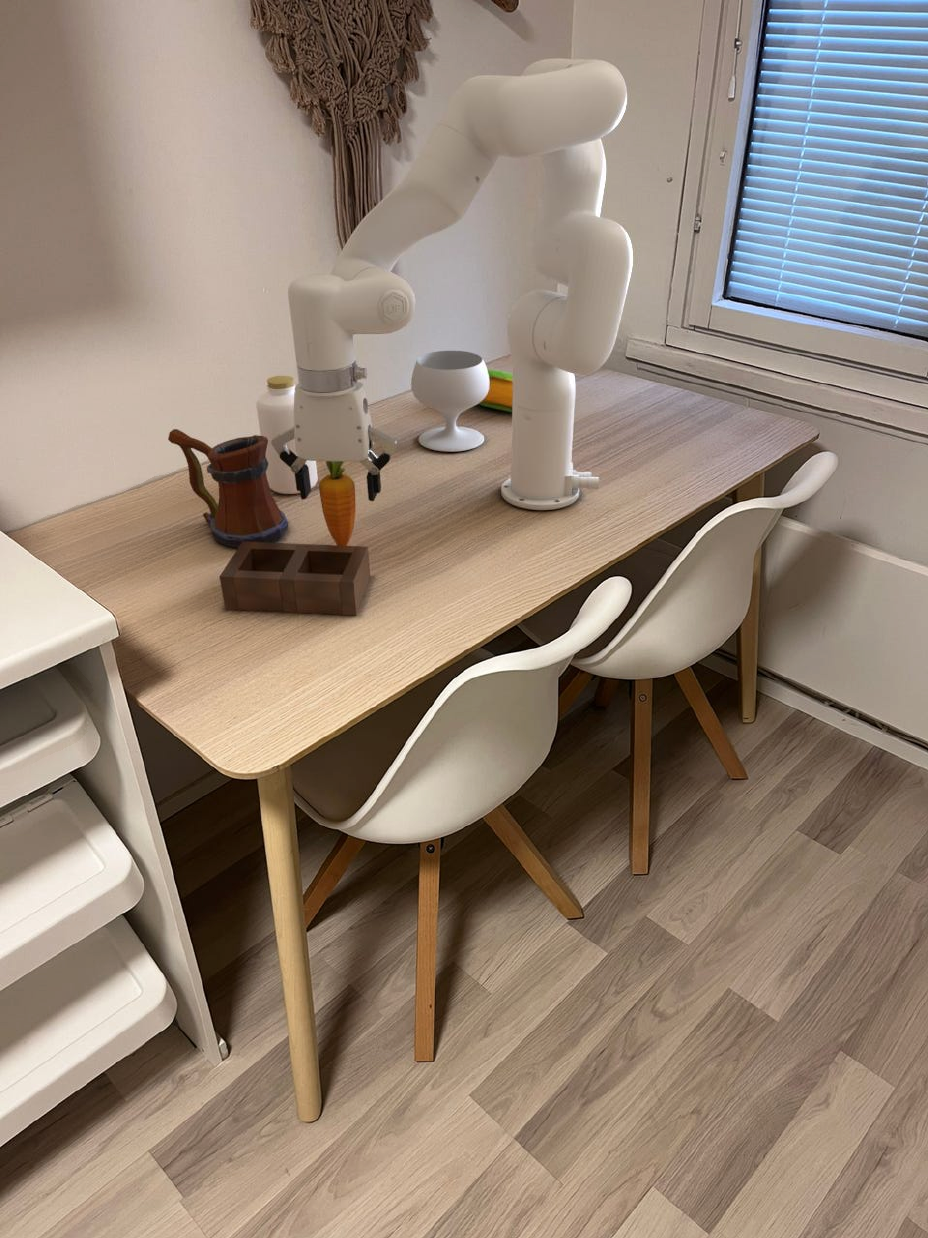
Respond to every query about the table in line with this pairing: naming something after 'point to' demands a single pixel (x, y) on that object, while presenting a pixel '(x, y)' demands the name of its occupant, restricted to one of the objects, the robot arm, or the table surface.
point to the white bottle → (274, 421)
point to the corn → (499, 391)
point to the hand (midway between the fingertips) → (339, 496)
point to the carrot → (338, 502)
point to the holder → (296, 578)
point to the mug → (235, 489)
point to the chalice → (450, 395)
